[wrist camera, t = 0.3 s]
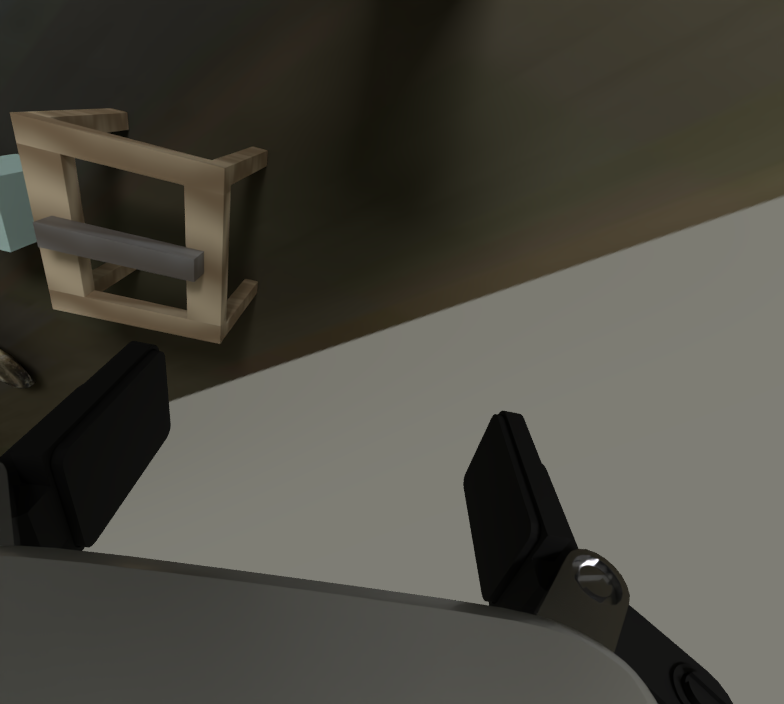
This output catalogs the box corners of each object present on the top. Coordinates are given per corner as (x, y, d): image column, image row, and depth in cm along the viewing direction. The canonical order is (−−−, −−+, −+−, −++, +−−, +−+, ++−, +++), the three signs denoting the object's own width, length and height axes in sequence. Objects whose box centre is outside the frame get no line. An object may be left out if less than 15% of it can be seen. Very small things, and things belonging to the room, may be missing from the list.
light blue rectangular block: (15, 153, 41) (-60, 165, 35) (57, 164, 42) (-9, 177, 35) (30, 219, 45) (-36, 241, 38) (68, 228, 45) (10, 252, 39)
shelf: (110, 108, 39) (-15, 113, 27) (267, 150, 41) (214, 172, 29) (127, 263, 47) (36, 319, 36) (257, 292, 49) (212, 355, 37)
